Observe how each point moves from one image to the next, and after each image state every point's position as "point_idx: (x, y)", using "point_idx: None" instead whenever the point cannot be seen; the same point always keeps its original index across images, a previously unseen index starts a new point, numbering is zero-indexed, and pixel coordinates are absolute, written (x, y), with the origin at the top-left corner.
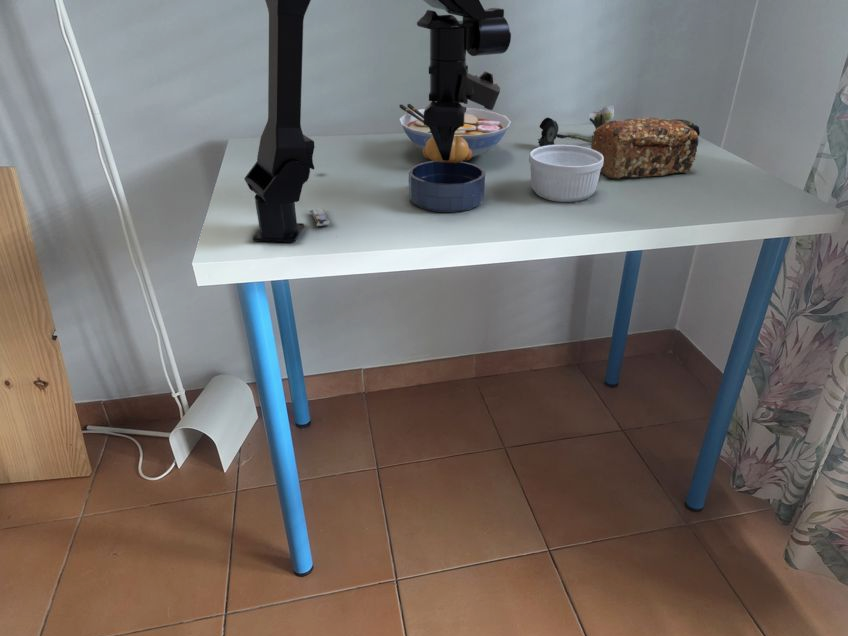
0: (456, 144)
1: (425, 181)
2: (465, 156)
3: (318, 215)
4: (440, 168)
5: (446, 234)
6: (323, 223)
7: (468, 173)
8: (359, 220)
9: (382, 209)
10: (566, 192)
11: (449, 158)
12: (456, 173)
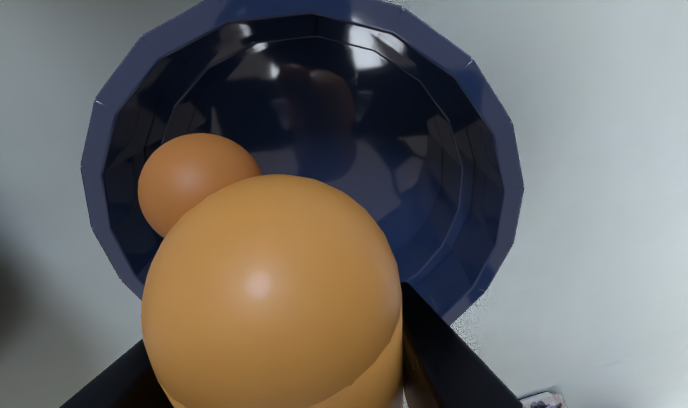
0: (384, 339)
1: (470, 297)
2: (328, 185)
3: None
4: None
5: (671, 119)
6: (559, 402)
7: (143, 126)
8: (514, 350)
9: None
10: None
11: (410, 287)
12: None
